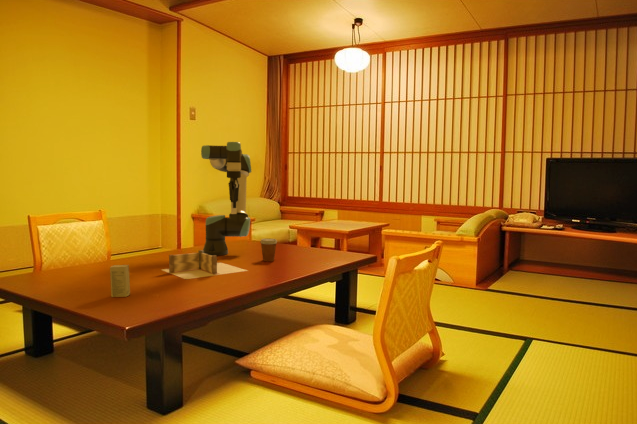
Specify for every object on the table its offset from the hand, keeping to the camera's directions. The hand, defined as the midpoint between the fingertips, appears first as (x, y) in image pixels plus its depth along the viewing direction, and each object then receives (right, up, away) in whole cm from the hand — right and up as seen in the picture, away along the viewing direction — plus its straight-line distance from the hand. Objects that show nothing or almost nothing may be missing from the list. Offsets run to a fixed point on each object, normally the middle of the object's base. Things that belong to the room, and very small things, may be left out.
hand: (233, 213), depth 273 cm
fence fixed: (-20, -28, -23) cm, 42 cm away
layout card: (-11, -29, -21) cm, 38 cm away
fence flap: (-8, -28, -25) cm, 39 cm away
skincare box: (-33, -33, -73) cm, 87 cm away
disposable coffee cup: (+18, -27, +11) cm, 34 cm away
